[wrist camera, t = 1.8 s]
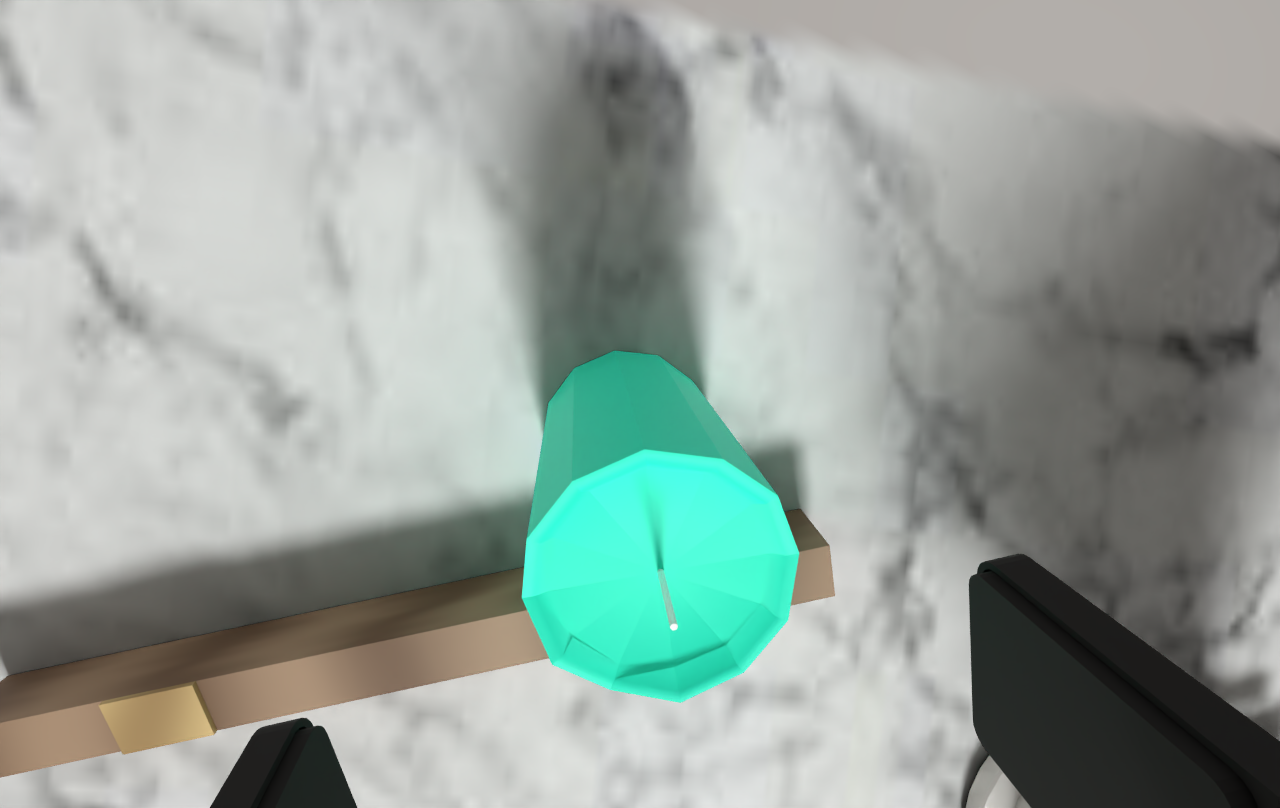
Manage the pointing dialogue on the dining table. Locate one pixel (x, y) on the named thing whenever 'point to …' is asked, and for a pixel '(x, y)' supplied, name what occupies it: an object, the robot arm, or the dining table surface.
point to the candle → (651, 535)
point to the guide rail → (292, 666)
